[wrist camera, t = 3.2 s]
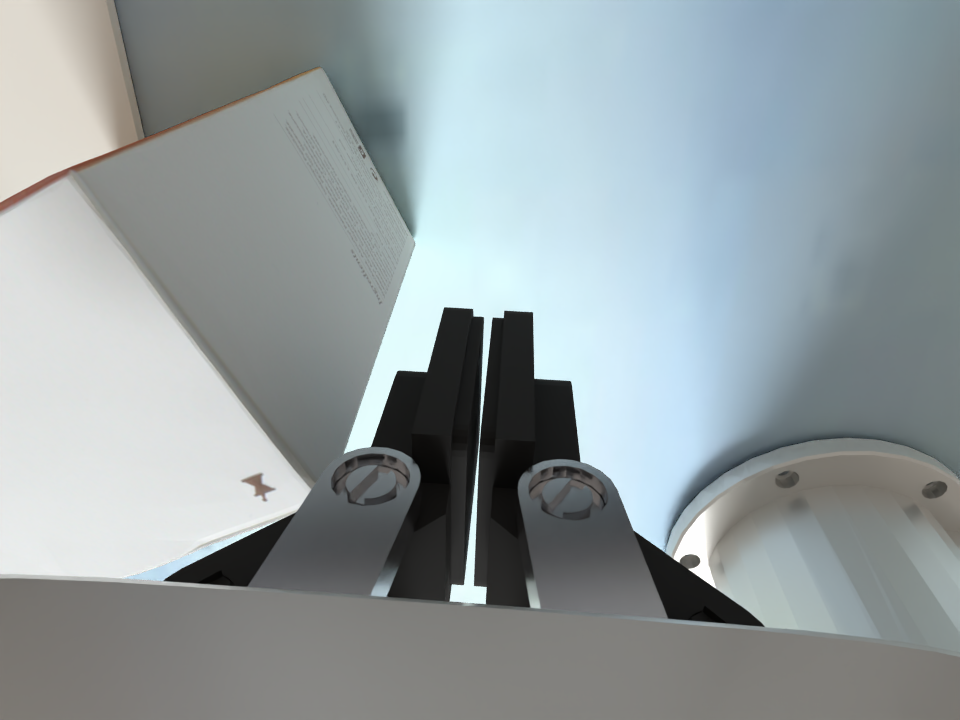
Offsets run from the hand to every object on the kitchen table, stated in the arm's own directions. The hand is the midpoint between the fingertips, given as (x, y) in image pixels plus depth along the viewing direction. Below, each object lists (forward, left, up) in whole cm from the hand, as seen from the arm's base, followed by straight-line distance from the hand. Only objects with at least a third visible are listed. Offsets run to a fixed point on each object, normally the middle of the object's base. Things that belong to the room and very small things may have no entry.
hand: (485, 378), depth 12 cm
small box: (+8, 0, -10) cm, 13 cm away
